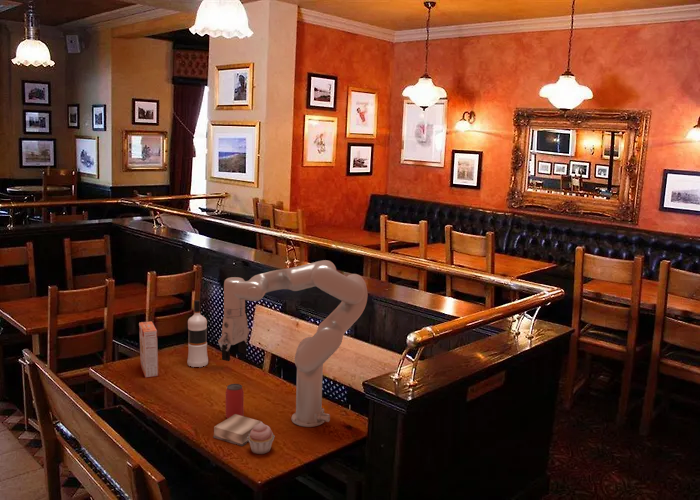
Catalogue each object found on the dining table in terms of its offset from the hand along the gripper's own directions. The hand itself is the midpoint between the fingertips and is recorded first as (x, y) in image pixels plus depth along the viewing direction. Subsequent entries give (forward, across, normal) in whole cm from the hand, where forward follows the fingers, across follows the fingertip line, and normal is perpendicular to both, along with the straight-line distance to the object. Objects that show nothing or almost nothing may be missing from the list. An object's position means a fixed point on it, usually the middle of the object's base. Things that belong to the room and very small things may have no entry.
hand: (234, 356), depth 241 cm
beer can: (+24, 0, 0) cm, 24 cm away
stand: (+24, -11, -10) cm, 28 cm away
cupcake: (+24, -16, -23) cm, 37 cm away
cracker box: (+24, +17, +59) cm, 66 cm away
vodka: (+24, +35, +47) cm, 63 cm away
